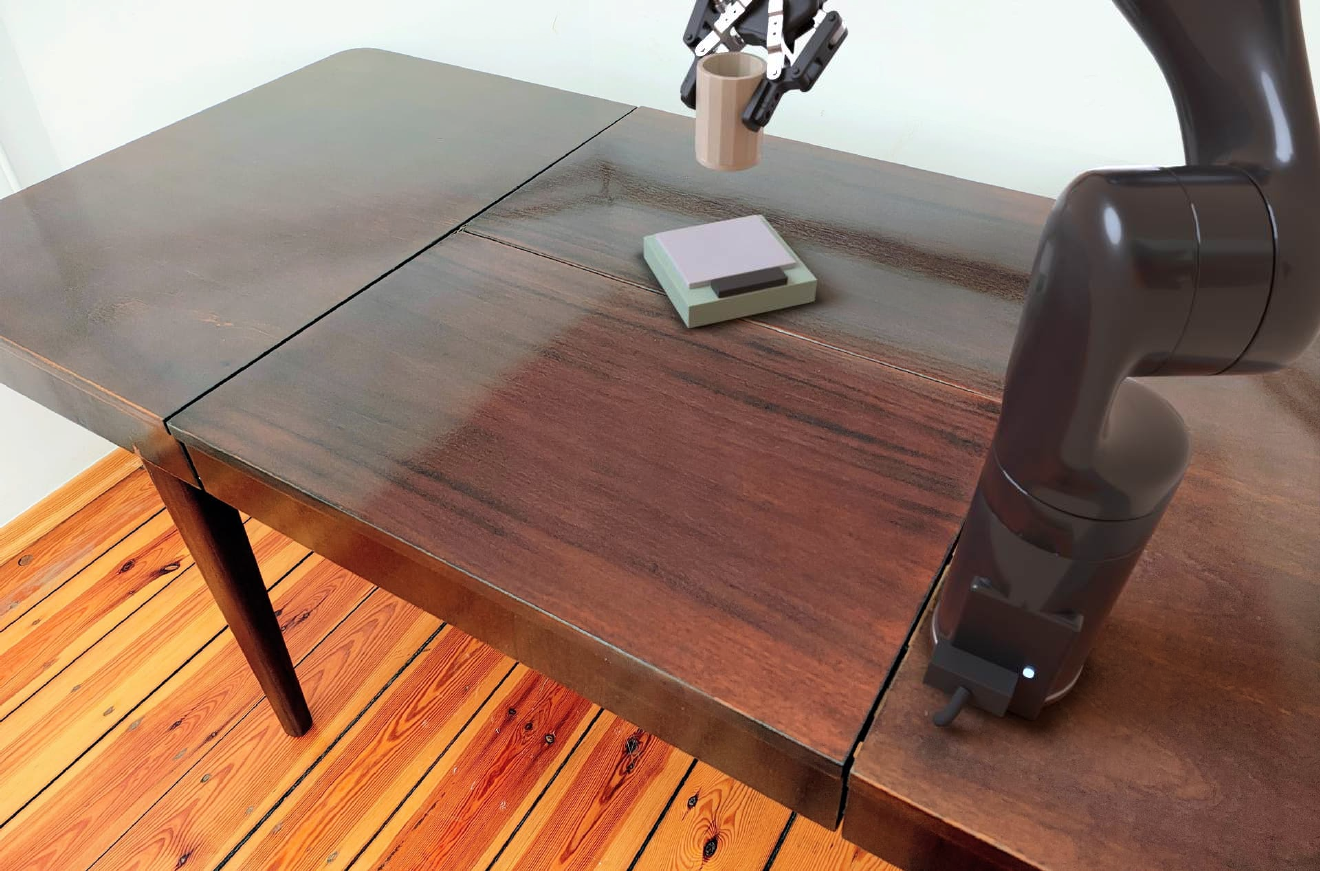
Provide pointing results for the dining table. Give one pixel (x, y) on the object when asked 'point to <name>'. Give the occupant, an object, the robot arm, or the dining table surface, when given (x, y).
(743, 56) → the cup
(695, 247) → the scale
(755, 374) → the dining table surface
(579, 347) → the dining table surface
